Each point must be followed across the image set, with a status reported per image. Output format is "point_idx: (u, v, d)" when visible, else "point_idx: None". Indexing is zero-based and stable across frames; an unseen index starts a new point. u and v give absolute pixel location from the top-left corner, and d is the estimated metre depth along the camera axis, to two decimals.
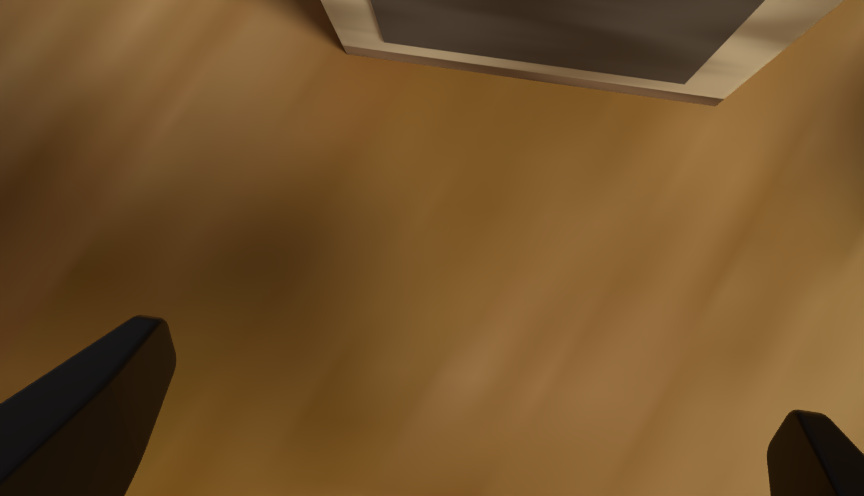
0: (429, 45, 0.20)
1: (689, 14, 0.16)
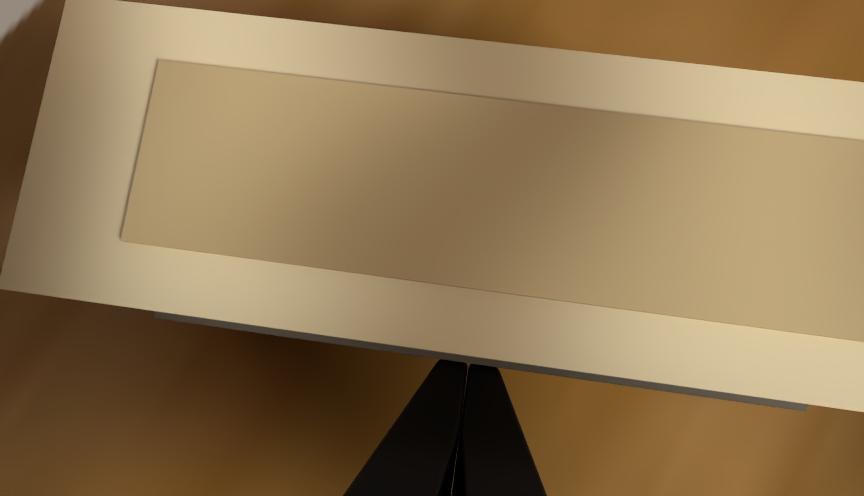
0: None
1: None
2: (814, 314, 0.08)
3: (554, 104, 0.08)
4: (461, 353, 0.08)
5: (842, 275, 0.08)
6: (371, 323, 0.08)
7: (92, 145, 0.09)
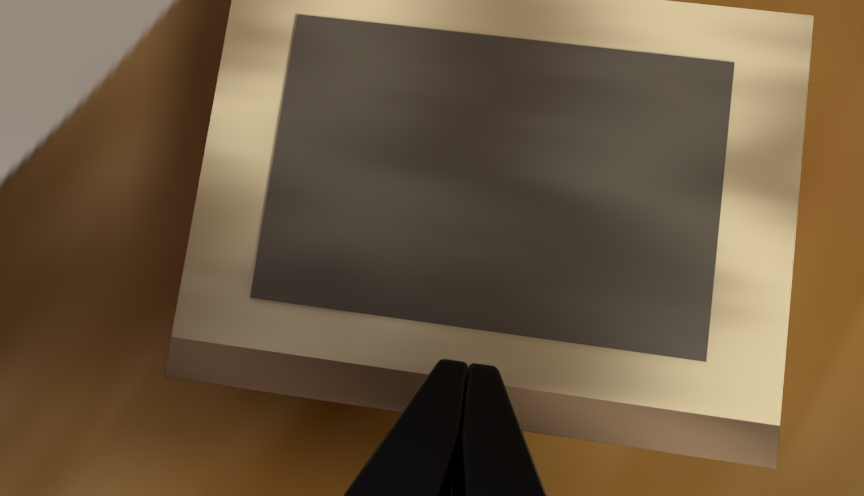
0: (321, 293, 0.13)
1: (663, 134, 0.13)
2: None
3: None
4: None
5: None
6: None
7: None
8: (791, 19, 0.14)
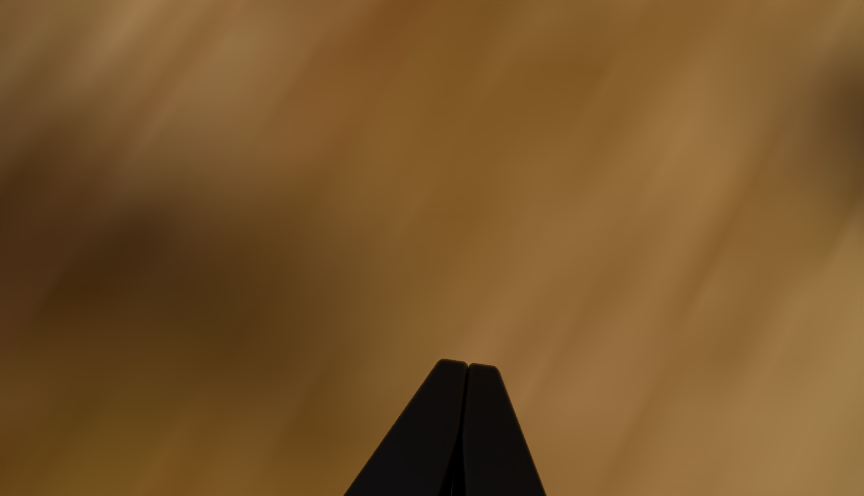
0: None
1: None
2: None
3: None
4: None
5: None
6: None
7: None
8: None
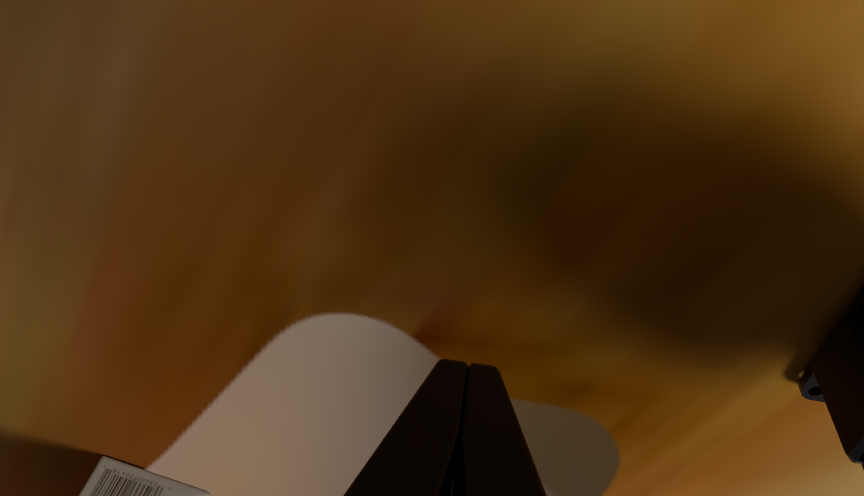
0: None
1: None
2: None
3: None
4: None
5: None
6: None
7: None
8: None
